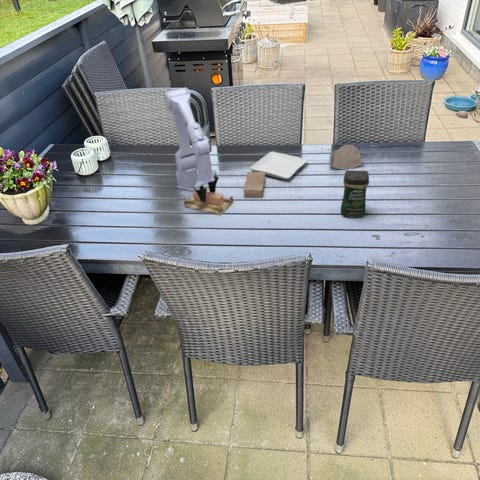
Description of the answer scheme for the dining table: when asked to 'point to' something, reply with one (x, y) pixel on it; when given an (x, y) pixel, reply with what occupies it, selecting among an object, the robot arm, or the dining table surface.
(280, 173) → the salad plate
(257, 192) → the brick
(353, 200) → the coffee jar
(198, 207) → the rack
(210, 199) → the clay strip
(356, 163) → the pumice stone
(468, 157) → the dining table surface
